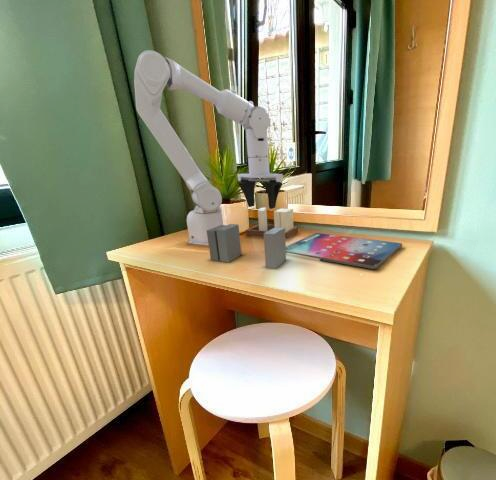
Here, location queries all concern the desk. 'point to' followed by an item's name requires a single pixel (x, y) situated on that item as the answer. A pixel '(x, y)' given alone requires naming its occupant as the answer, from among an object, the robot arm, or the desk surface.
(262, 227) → the white book
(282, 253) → the grey books
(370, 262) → the tablet
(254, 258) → the desk surface
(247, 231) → the book tray
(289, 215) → the white books
